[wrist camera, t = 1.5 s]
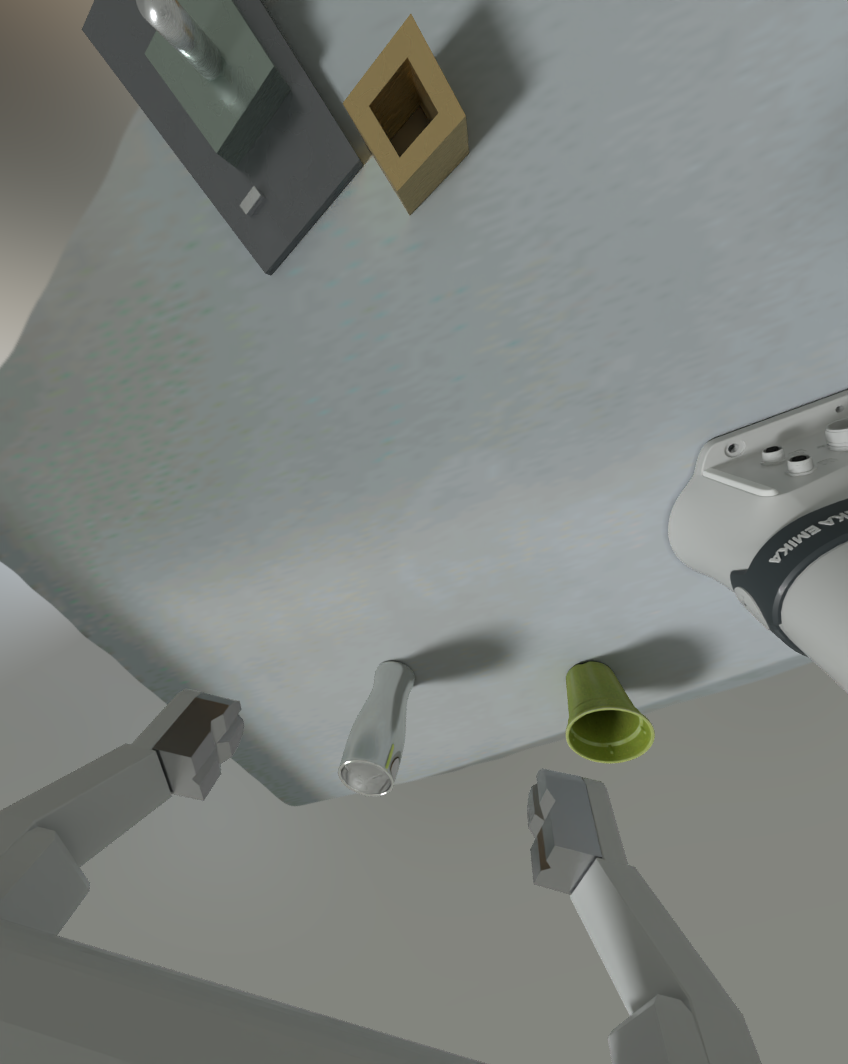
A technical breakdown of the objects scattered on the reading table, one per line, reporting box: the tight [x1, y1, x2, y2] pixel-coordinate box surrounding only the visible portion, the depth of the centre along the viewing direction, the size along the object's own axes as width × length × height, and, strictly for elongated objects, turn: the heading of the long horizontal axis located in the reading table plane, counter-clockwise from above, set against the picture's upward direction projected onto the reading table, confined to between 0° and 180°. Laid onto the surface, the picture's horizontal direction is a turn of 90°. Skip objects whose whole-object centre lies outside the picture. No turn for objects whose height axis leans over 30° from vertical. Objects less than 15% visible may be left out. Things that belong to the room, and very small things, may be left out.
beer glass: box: [338, 661, 415, 796], centre depth 48 cm, size 7×7×15 cm
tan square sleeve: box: [343, 14, 469, 215], centre depth 27 cm, size 6×6×5 cm
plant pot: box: [566, 661, 655, 763], centre depth 45 cm, size 9×9×9 cm
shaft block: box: [82, 0, 363, 275], centre depth 26 cm, size 12×20×8 cm, turn 37°
